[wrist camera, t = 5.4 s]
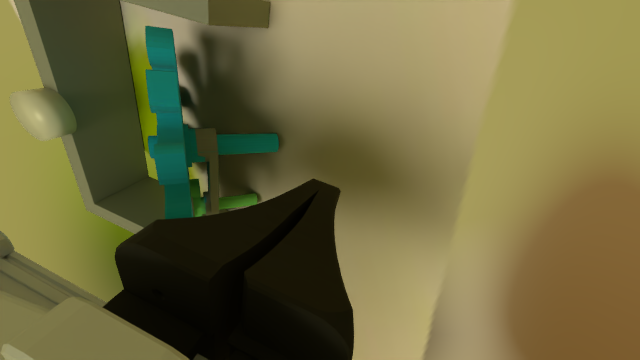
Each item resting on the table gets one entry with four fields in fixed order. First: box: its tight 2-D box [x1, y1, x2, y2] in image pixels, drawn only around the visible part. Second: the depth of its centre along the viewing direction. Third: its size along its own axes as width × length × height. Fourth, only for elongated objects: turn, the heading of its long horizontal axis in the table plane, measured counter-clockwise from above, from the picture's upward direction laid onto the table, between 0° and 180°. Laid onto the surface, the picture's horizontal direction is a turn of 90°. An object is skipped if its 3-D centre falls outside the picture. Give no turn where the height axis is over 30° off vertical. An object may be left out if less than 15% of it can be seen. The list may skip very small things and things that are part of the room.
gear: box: [145, 26, 279, 219], centre depth 14 cm, size 11×6×10 cm
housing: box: [10, 0, 270, 234], centre depth 14 cm, size 14×11×5 cm
